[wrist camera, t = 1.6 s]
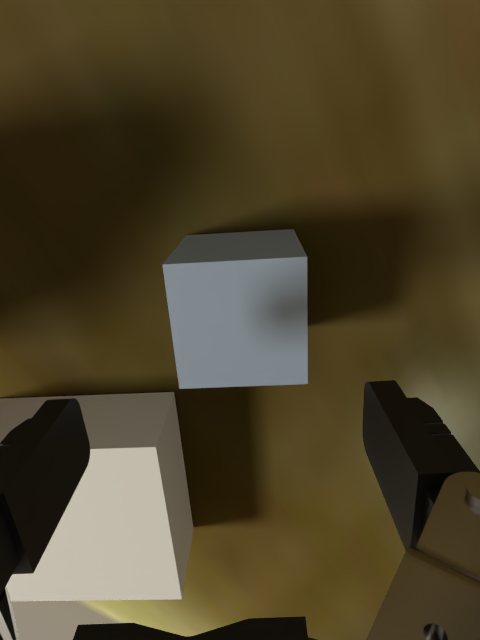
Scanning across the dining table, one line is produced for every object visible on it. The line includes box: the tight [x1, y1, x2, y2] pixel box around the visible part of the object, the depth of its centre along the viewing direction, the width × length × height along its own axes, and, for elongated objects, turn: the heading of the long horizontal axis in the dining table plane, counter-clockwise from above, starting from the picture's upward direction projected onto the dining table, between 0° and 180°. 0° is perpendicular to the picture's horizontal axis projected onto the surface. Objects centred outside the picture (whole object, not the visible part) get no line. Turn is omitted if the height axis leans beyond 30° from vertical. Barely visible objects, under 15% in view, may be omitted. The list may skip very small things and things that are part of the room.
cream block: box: [0, 392, 193, 601], centre depth 25 cm, size 11×11×5 cm
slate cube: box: [163, 229, 308, 389], centre depth 20 cm, size 6×6×6 cm
